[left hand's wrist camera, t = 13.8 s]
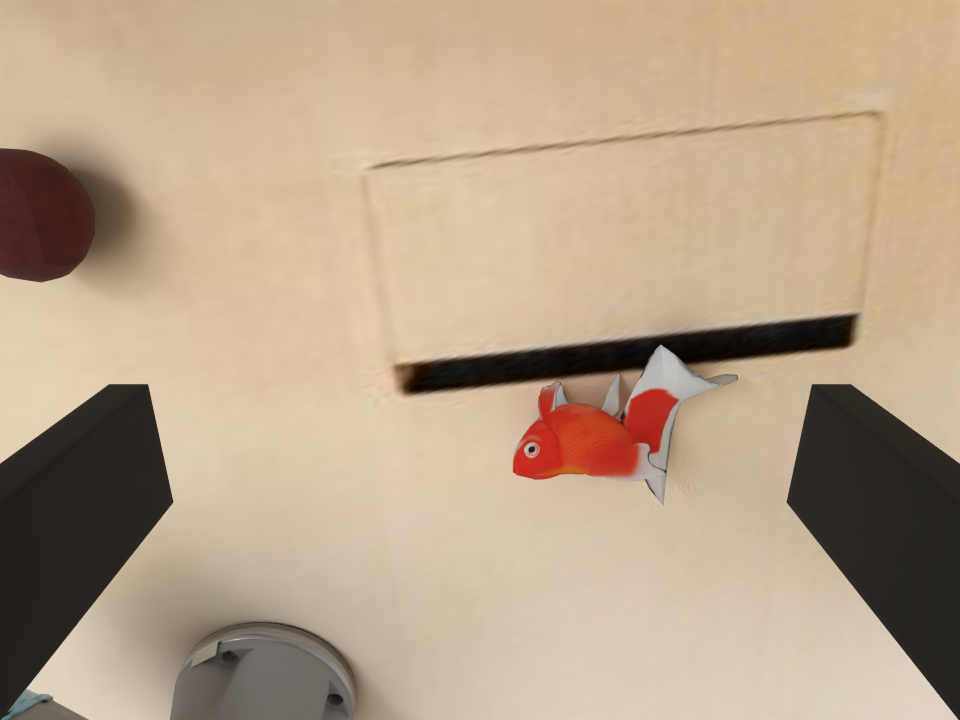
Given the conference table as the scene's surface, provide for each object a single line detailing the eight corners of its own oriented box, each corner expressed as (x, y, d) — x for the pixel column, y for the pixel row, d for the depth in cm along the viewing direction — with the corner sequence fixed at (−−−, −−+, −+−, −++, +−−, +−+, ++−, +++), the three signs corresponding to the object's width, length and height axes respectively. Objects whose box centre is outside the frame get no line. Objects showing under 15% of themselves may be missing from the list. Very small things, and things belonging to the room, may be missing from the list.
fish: (496, 325, 38) (583, 442, 31) (695, 287, 44) (803, 378, 37) (477, 444, 45) (545, 560, 38) (651, 397, 51) (735, 490, 44)
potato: (99, 141, 38) (21, 146, 32) (133, 265, 41) (67, 293, 34) (-18, 149, 38) (-120, 156, 32) (24, 272, 41) (-62, 302, 35)
